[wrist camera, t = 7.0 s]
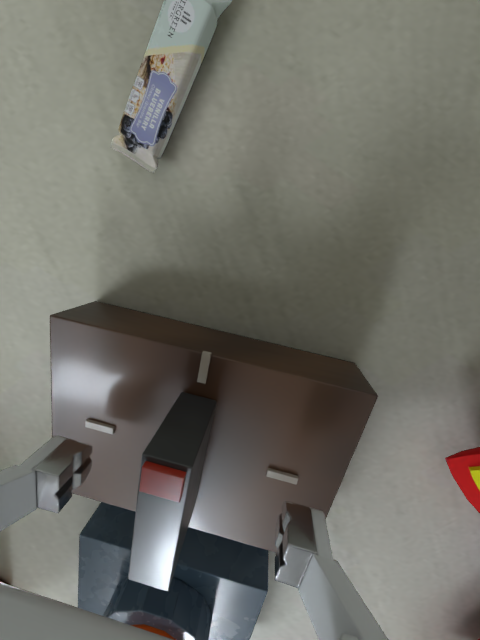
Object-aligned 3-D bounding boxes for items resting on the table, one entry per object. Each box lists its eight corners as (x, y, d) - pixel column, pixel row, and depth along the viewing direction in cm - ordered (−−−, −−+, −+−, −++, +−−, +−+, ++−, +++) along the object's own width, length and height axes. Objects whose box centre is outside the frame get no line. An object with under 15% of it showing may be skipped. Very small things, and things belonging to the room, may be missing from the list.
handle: (195, 501, 13) (165, 601, 9) (165, 492, 13) (123, 588, 9) (217, 400, 11) (189, 474, 7) (181, 391, 11) (137, 460, 7)
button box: (268, 549, 17) (267, 635, 13) (241, 627, 20) (233, 717, 16) (101, 500, 18) (55, 569, 14) (96, 581, 21) (56, 658, 17)
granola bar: (184, -31, 9) (174, -64, 8) (237, 6, 10) (233, -22, 9) (116, 150, 11) (101, 141, 10) (160, 179, 12) (149, 173, 11)
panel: (356, 361, 13) (381, 396, 10) (301, 506, 16) (307, 567, 13) (95, 298, 14) (45, 313, 11) (90, 448, 17) (49, 492, 14)
